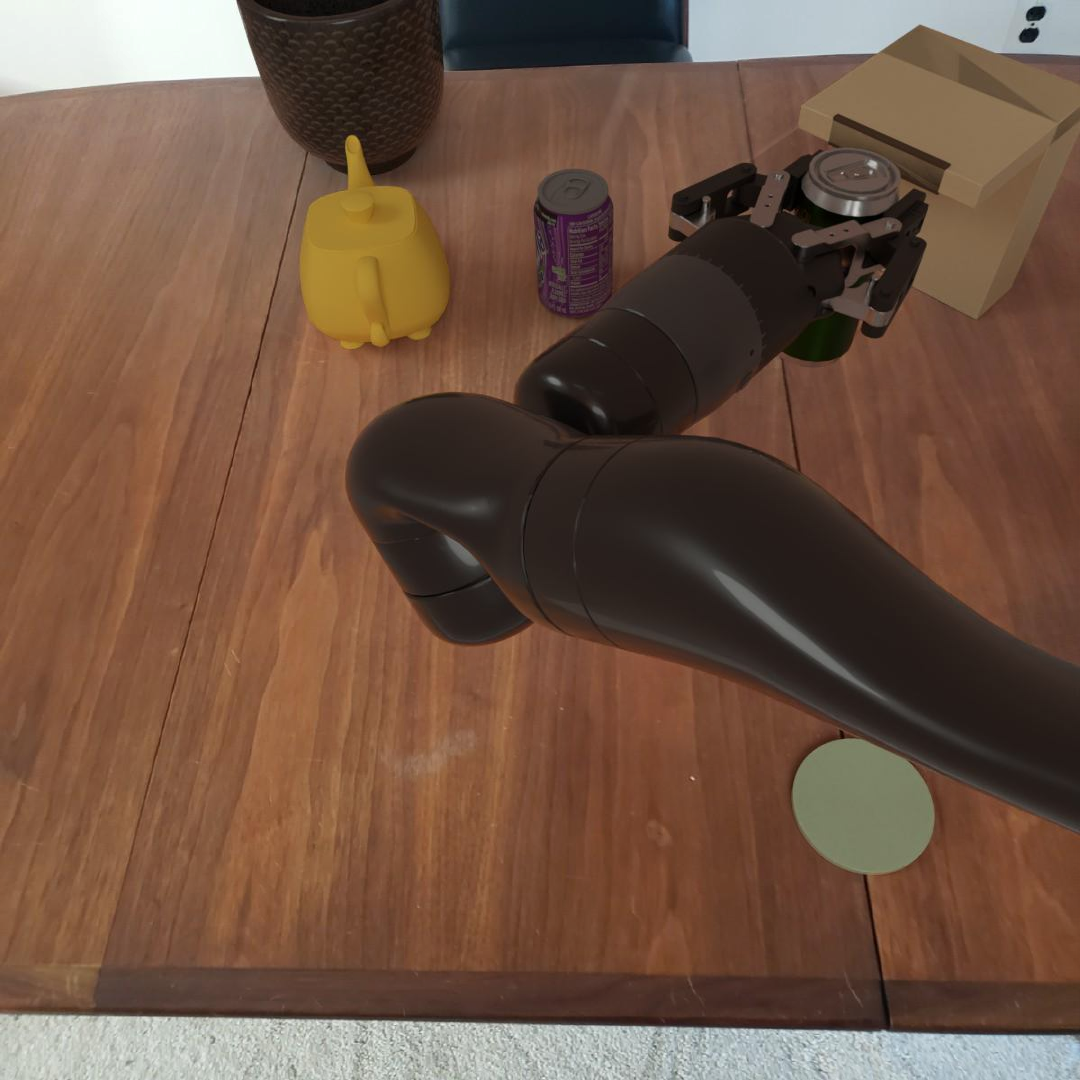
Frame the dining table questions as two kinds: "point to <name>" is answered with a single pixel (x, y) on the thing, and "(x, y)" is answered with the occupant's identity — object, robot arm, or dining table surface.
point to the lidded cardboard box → (958, 152)
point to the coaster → (862, 807)
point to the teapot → (371, 262)
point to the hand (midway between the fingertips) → (868, 185)
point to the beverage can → (574, 242)
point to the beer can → (830, 199)
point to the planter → (350, 73)
